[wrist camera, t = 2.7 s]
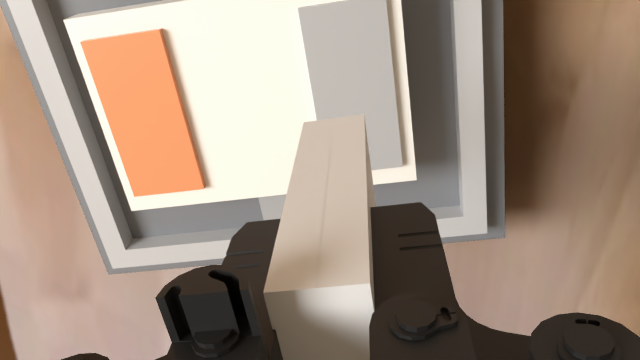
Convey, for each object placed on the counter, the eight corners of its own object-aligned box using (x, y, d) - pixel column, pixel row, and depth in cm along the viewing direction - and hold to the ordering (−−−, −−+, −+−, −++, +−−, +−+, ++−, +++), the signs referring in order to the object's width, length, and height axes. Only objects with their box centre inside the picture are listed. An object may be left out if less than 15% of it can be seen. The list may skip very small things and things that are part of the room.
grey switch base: (477, -203, 21) (513, -234, 16) (487, 196, 29) (513, 257, 24) (12, -112, 24) (-79, -116, 19) (136, 233, 32) (95, 294, 27)
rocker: (395, -39, 20) (398, -33, 18) (413, 162, 23) (417, 183, 21) (84, 11, 21) (59, 21, 19) (145, 192, 25) (128, 214, 23)
